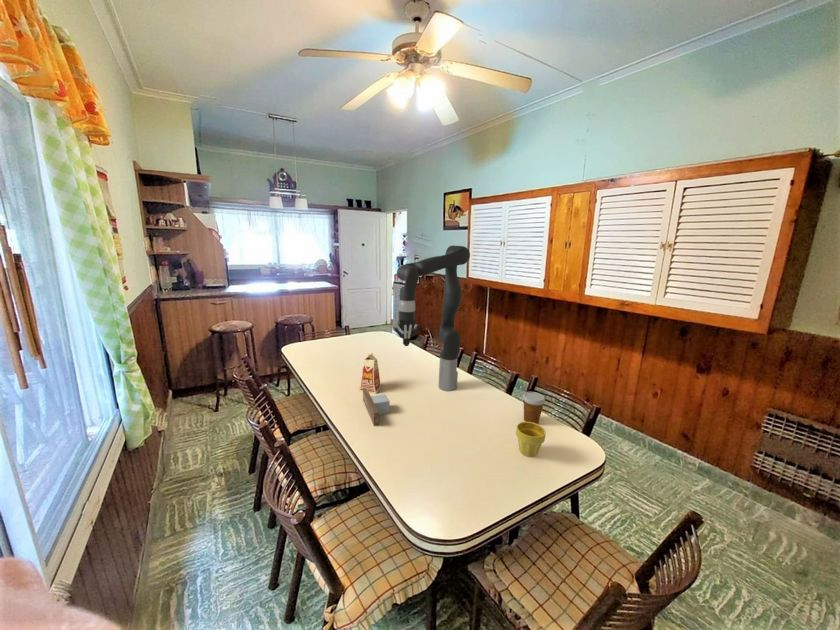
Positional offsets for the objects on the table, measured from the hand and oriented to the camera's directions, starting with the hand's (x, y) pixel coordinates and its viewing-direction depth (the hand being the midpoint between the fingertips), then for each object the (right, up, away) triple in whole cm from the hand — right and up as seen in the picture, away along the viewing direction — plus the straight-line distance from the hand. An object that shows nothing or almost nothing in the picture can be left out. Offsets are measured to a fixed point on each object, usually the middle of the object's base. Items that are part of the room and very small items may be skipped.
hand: (406, 345), depth 152 cm
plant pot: (+48, -38, -28) cm, 67 cm away
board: (-16, -30, -3) cm, 34 cm away
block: (-12, -30, -2) cm, 32 cm away
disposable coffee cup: (+56, -33, -6) cm, 66 cm away
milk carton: (-20, -25, +19) cm, 37 cm away
